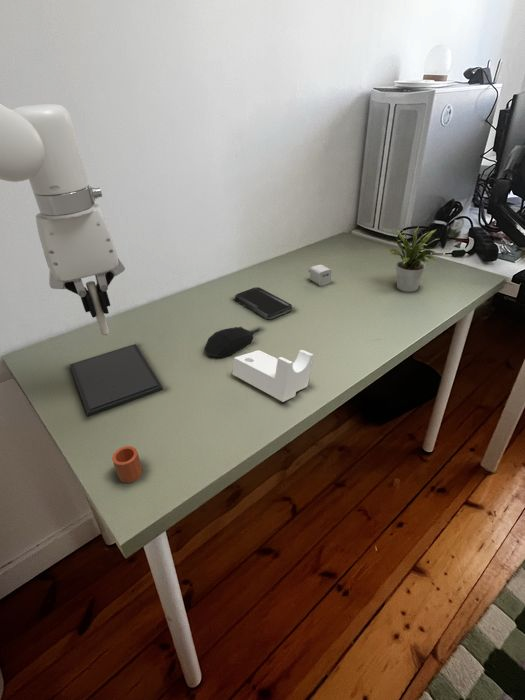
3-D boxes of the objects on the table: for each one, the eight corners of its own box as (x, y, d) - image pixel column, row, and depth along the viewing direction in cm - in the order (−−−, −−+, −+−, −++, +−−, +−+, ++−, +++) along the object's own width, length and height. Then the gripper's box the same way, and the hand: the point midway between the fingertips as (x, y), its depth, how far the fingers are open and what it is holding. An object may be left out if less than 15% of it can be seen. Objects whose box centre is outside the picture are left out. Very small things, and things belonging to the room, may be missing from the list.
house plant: (373, 298, 110) (380, 235, 101) (375, 275, 121) (381, 217, 112) (433, 301, 107) (445, 237, 98) (429, 278, 118) (440, 218, 109)
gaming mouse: (268, 334, 98) (267, 319, 95) (217, 362, 89) (215, 346, 87) (249, 325, 101) (248, 310, 99) (199, 351, 93) (196, 335, 91)
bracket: (306, 391, 82) (313, 354, 79) (282, 402, 77) (289, 363, 74) (256, 365, 89) (261, 331, 86) (232, 374, 84) (236, 338, 81)
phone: (257, 286, 116) (293, 305, 106) (257, 290, 117) (293, 309, 106) (233, 295, 112) (268, 316, 102) (233, 299, 113) (268, 320, 103)
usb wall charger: (319, 286, 117) (319, 272, 115) (304, 277, 122) (305, 264, 120) (331, 282, 119) (331, 268, 116) (316, 274, 124) (316, 260, 122)
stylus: (102, 337, 75) (86, 285, 70) (101, 334, 76) (84, 282, 71) (110, 335, 76) (95, 283, 70) (108, 331, 77) (93, 280, 71)
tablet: (88, 416, 77) (86, 412, 77) (70, 367, 91) (69, 363, 90) (163, 389, 83) (162, 385, 82) (136, 346, 96) (135, 343, 96)
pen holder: (122, 486, 64) (115, 468, 62) (115, 470, 67) (109, 452, 64) (145, 476, 65) (140, 458, 63) (138, 460, 68) (133, 442, 66)
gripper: (112, 187, 69) (137, 292, 79) (5, 206, 63) (47, 316, 73) (125, 197, 63) (150, 308, 74) (9, 218, 57) (53, 336, 68)
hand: (98, 311), depth 73 cm, fingers closed on stylus, 1 cm apart
